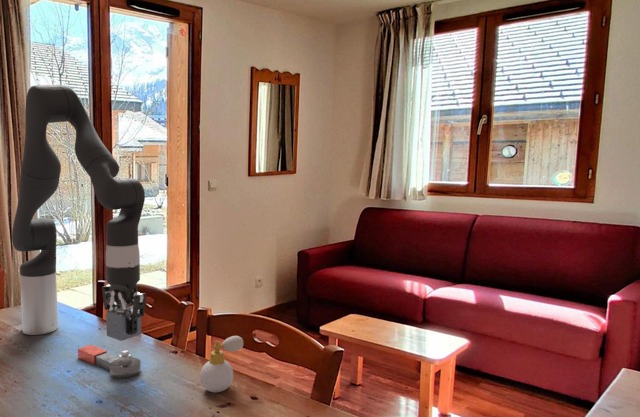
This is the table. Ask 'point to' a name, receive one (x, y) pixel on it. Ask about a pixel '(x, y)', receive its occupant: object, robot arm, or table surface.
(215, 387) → the perfume bottle
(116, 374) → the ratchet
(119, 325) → the cube with chrome knob
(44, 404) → the table surface
